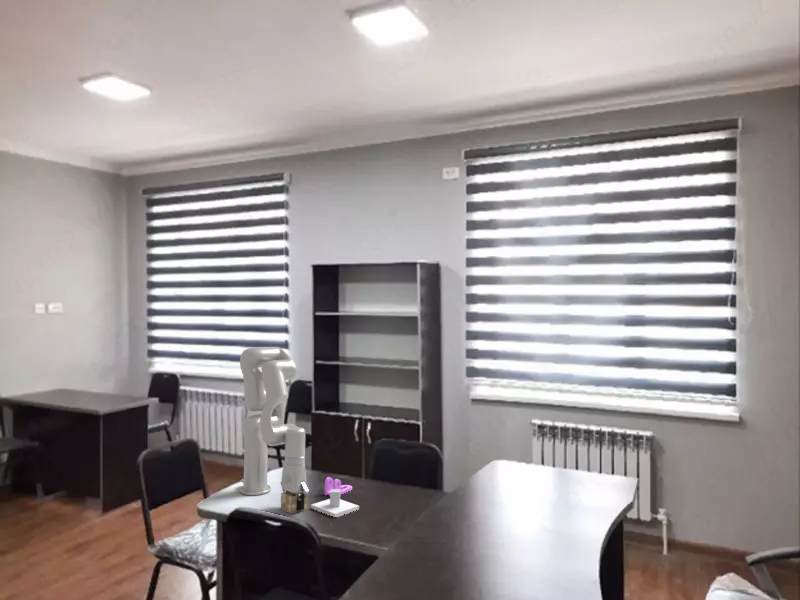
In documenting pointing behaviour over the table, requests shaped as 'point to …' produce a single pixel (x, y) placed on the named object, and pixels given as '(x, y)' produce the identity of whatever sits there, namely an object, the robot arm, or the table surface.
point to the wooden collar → (291, 502)
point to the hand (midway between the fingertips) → (294, 507)
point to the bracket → (335, 486)
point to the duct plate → (335, 510)
